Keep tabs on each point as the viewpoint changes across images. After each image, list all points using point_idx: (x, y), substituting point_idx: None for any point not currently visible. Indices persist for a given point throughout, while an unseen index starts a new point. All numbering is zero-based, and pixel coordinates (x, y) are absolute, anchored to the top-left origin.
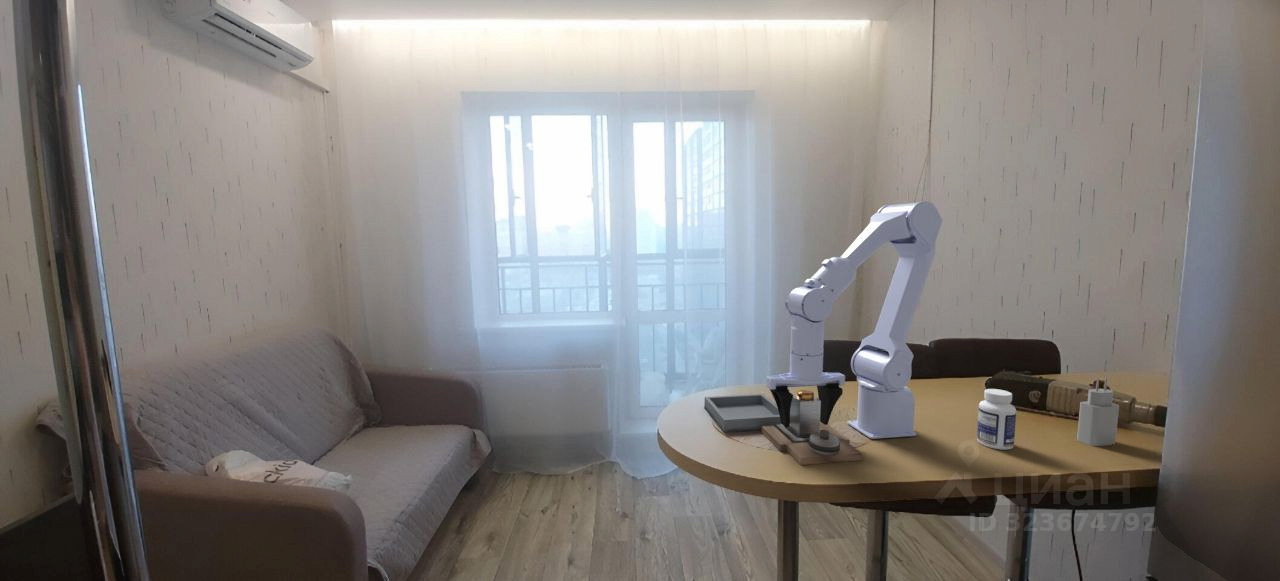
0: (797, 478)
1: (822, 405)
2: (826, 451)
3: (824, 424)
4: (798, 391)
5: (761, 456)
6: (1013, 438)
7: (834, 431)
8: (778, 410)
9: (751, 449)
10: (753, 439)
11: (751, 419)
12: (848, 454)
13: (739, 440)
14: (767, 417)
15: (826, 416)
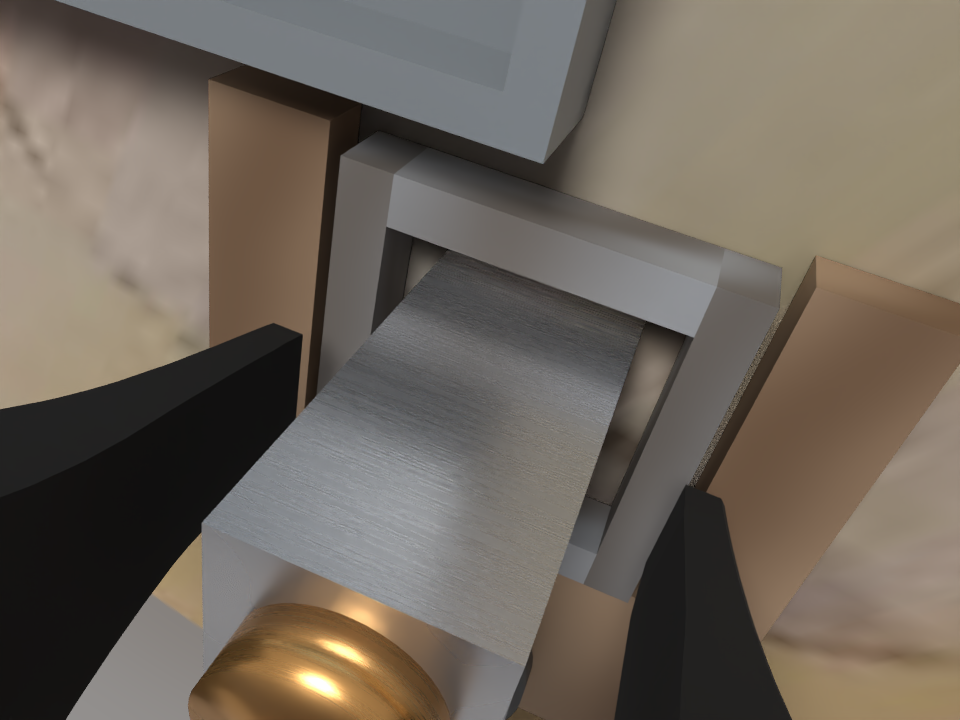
0: (194, 600)
1: (652, 676)
2: None
3: (648, 560)
4: (225, 695)
5: (107, 382)
6: None
7: (793, 527)
8: (164, 369)
9: (75, 284)
10: (133, 160)
11: (78, 3)
12: (535, 712)
13: (27, 122)
14: (252, 62)
15: (627, 653)
